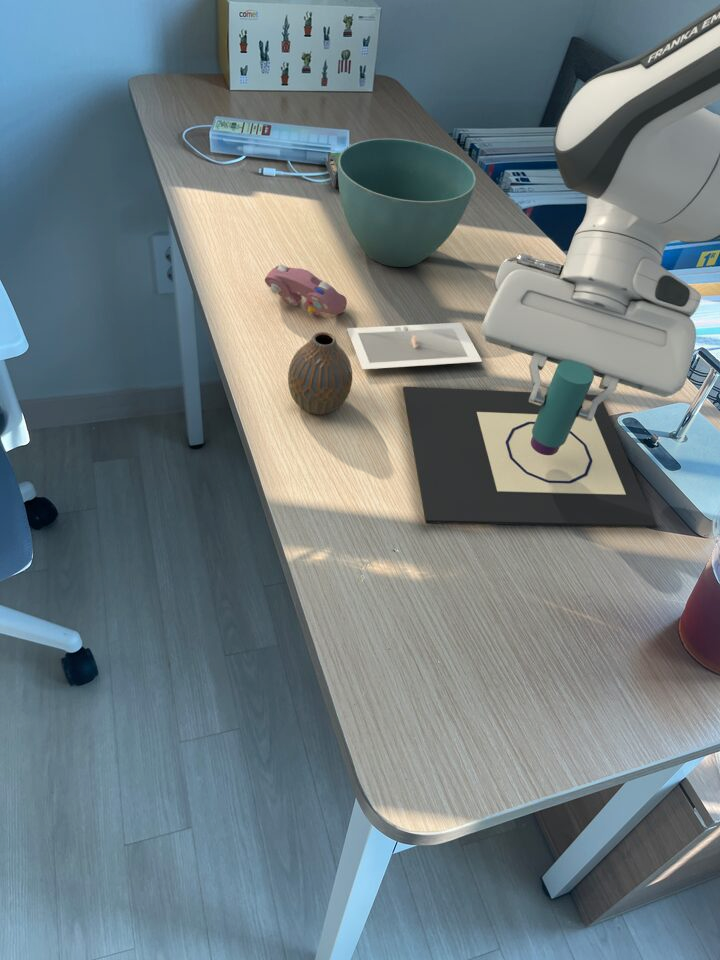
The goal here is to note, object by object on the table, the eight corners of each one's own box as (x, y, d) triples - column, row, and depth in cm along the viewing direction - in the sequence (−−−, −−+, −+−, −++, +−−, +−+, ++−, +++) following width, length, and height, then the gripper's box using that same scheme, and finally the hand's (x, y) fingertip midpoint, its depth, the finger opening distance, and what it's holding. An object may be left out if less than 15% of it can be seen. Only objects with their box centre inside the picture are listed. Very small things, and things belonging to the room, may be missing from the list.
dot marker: (556, 434, 81) (588, 360, 74) (565, 458, 79) (598, 384, 71) (524, 432, 81) (553, 358, 73) (531, 457, 78) (562, 383, 71)
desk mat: (599, 397, 91) (600, 394, 90) (654, 527, 77) (657, 524, 77) (402, 388, 87) (403, 385, 87) (425, 522, 74) (426, 519, 74)
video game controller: (268, 306, 98) (255, 274, 91) (285, 278, 99) (274, 245, 92) (334, 334, 95) (326, 304, 89) (351, 305, 97) (344, 273, 90)
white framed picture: (480, 368, 92) (484, 354, 90) (361, 376, 88) (363, 361, 86) (459, 329, 97) (462, 315, 95) (345, 335, 93) (347, 321, 91)
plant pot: (304, 235, 108) (311, 150, 99) (402, 209, 117) (415, 128, 108) (383, 301, 99) (397, 214, 90) (481, 267, 108) (504, 185, 99)
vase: (277, 412, 82) (280, 348, 76) (299, 375, 87) (304, 312, 80) (337, 431, 81) (345, 367, 75) (356, 392, 86) (365, 329, 80)
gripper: (506, 238, 73) (459, 374, 74) (718, 300, 70) (668, 441, 71) (504, 258, 79) (460, 383, 80) (699, 315, 76) (652, 445, 77)
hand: (559, 411), depth 75 cm, fingers closed on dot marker, 3 cm apart
